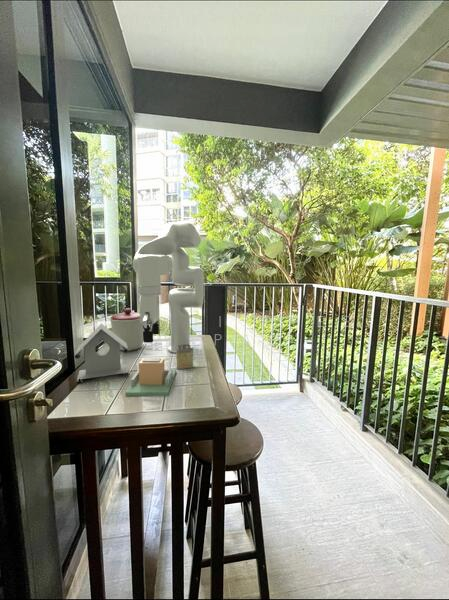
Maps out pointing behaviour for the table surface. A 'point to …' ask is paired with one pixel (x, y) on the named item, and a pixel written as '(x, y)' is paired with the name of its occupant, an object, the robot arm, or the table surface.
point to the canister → (128, 328)
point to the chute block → (151, 371)
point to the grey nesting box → (102, 363)
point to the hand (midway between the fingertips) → (151, 337)
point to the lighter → (184, 357)
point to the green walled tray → (151, 386)
